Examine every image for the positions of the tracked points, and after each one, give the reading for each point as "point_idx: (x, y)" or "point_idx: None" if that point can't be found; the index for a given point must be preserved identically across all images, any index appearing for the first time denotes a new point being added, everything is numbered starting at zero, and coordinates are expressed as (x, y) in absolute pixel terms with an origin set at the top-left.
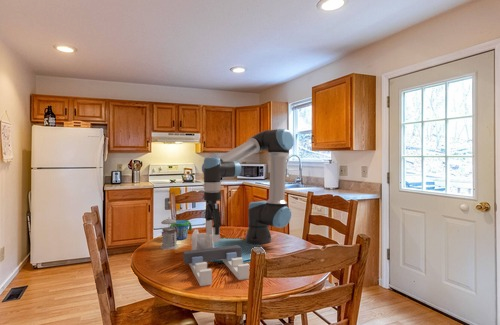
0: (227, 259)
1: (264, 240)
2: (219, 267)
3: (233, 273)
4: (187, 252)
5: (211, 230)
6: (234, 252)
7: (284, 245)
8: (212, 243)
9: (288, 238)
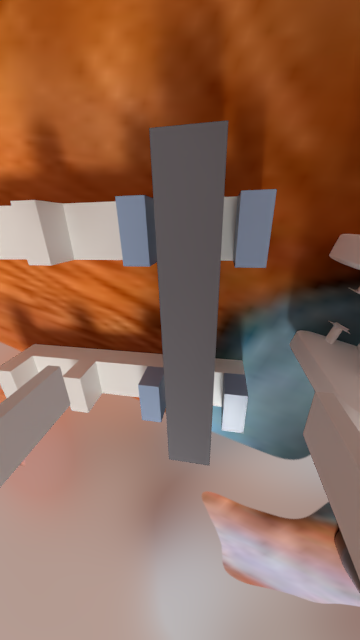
0: (145, 370)
1: (341, 551)
2: (155, 326)
3: (85, 348)
4: (179, 159)
5: (318, 465)
6: (154, 416)
7: (278, 553)
8: (310, 382)
9: (339, 592)
